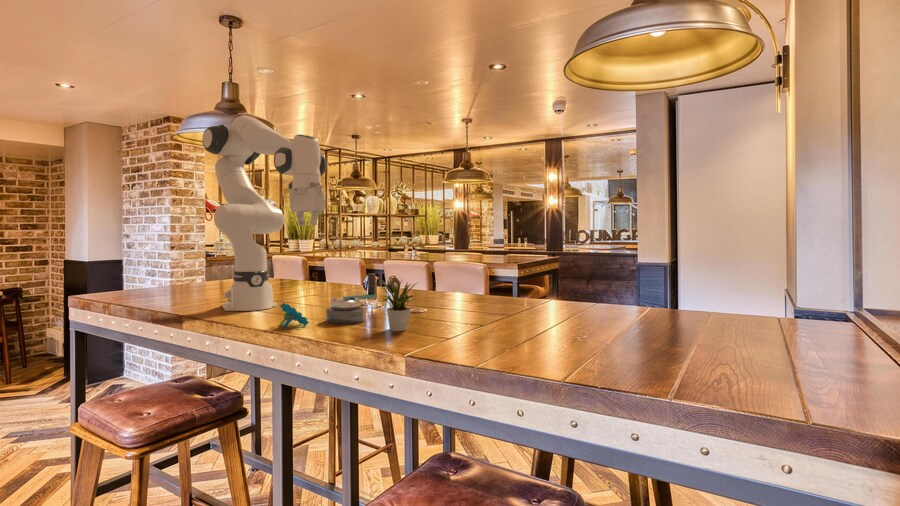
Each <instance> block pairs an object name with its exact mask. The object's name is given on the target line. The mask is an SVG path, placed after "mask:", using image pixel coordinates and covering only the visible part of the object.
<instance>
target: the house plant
mask: <svg viewBox="0 0 900 506" xmlns="http://www.w3.org/2000/svg"><path fill="white" fill-rule="evenodd" d="M380 281H382V282H378V283H379V284H382V285H383V286H385V287H383V286H382V285H379V287H380V288H382V289H383V290H384V291H385V292H386V294H387V295H384V296H381V298H382V301H381V303H384V302H387V304H388V305H390V307H388V308H386V313H387V320H388V327H389V330H390V331H392V332H403V331H404V332H405V331H407V330H408V326H409V320H410V314H411V308H410V307H407V306H408V304H410V302H412V301H414V300H415V298H413V297H417V296H418V295H416V294H415V295H409V292H410V291H411V290H412V289H413V288H414V287H415V286H416V285H417V284H418V283H420V281H418V282H416V283H414V284H413V285H412V283H410V284H409V283H408V282H406V284H405V285H404V289H403V290H402V292H401V293H400V287H401V283H402V282H403V280H400V281H399V283H398V286H397V287H396V285H395V283H394V280H393V279H392V278H390V284H391V288H392V290H391V288H390V287H389V286H388V284H387V283H386V282H385V281H384V280H382V279H380ZM410 286H411V287H410ZM386 289H387V290H388V291H387V290H386ZM388 292H389V293H388ZM391 296H392V297H391ZM411 298H412V299H411ZM409 299H410V300H409Z"/></svg>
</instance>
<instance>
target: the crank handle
mask: <svg viewBox="0 0 900 506" xmlns="http://www.w3.org/2000/svg"><path fill="white" fill-rule="evenodd" d="M330 299H331V300H330V308H331V309H333V310H354V309H358V308H359V306H360V301H361V300H369V299H370V300H371V299H377V294H376V273H374V272H373V273H371V272H370V273H367V293H366V294H357V295H356V294H355V295H345V296H342V298H338V297H336V296H333V297H331V298H330Z"/></svg>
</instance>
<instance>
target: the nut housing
mask: <svg viewBox="0 0 900 506" xmlns="http://www.w3.org/2000/svg"><path fill="white" fill-rule="evenodd" d="M325 319H326V321H325V322H326V323H327V324H329V325H335V326H337V325H339V326H340V325H341V326H347V325H356V324H361V323H363V322H365V308H364V307H363V305H359V308H358V309H354V310H333V309H331V307H328V308H326V309H325Z"/></svg>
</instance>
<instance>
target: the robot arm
mask: <svg viewBox="0 0 900 506" xmlns="http://www.w3.org/2000/svg"><path fill="white" fill-rule="evenodd" d="M201 140H202V141H201V142H202V146H203V148H204V150H205V151H207V152H208V153H210V154H212V155H218V156H222V157H220V158H219V159H217V161H216V162H215V165H214V168H215V169H214V170H215V176H216V180H217V182H218V185H219V188H220V190H221V193H222V195H223V198H224V200H225V201H226V203H228V204H224V205H220V206H218V207H217V209H216V210H215V212H214V215H213V223H214V225H215V227H216V228H217V229H218V230H219V232H221V233H222V234H223V235H224V236H226V238H227V239H228V241H229V242H230V244H231V246H232V250H233V253H234V254H233V255H234V256H233V257H234V271H233V274H232V276H233V277H232V279H233V282H232V284H231V285H230V288H229V289H228V290H227V291H225V292H224V298H225V299H227V302H222V304H221V306H222V308H223V309H224V311H229V312H230V311H231V312H232V311H233V312H234V311H237V312H239V311H240V312H244V311H245V312H247V311H249V312H250V311H261V310H268V309H271V308H273V307H277V306H278V305H277V304H278V303H276V302H274V295H273V285H272V284H271V283H270V282H269V281H268V280H269V270H268V258H267V256H268V254H267V253H268V252H267V250H266V248H265V247H264V246H263V245H261V244H259V243H257V242H256V241H255V239H254V236H253V235H268V234H269V235H270V234H273V233H277V232H280V231H281V230H282V228H283V227H284V223H285V215H284V214H283V212H282V210H281V209H280V208H279V207H276V206H275V205H272V204H271V203H269V202H268V201H267V200H265V198H264V197H262V196H261V195H260V194H259V193H258V192H257V191H256V189H255V187H254V186H253V184H252V181H251V179H250V177H249V175H248V173H247V171H246V169H245V166H248V165H251V164H253V162H254V161H256V160H257V159H258V158H259V157H260V156H261V155H267V156H273V164H274V168H275V170H276V171H277V172H278V173H279V174H280V175H281V174H282V175H284V176H290V177H292V180H291V181H290V182H288V185H287V189H288V191H289V195H288V196H289V209H290V211H291V213H295V215H296V219H297V221H298V222H297V225H298V226H299V227H300V226H301V227H302V226H305V225H306V221H305V219H304V215H305V213H309V212H310V215H311V216H310V217H311V218H310V219H309V225H310V226H317V224H318V218H319V217H320V216H319V215H320V212H324V211H325V209H326V195H325V190H324V189H323V188H322V185H321V183H322V182H321V181H322V178H321V177H323V175H324V174H325V173H326V171H327V167H328V163H327V159H326V157H325V155H324V153H322V152H321V147H320V142H319V139H318V138H317V137H315V136H311V135H307V134H295V135H294V136H293V139H292V140H291V139H289V138H287V137H286V136H284V135H282V133H281V134H280V133H279V132H277V131H276V130H274V129H273V128H271V127H270V126H268V125H267V124H266V123H264V122H262V121H261V120H259V119H258V118H255V117H252V116H249V115H243V114H242V115H239V116H237V117H236V118H235V119H234V120H233V122H232V123H231V126H225V124H220V125H211V126H209V127H207V128H205V130H204V132H203V134H202V139H201Z"/></svg>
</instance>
